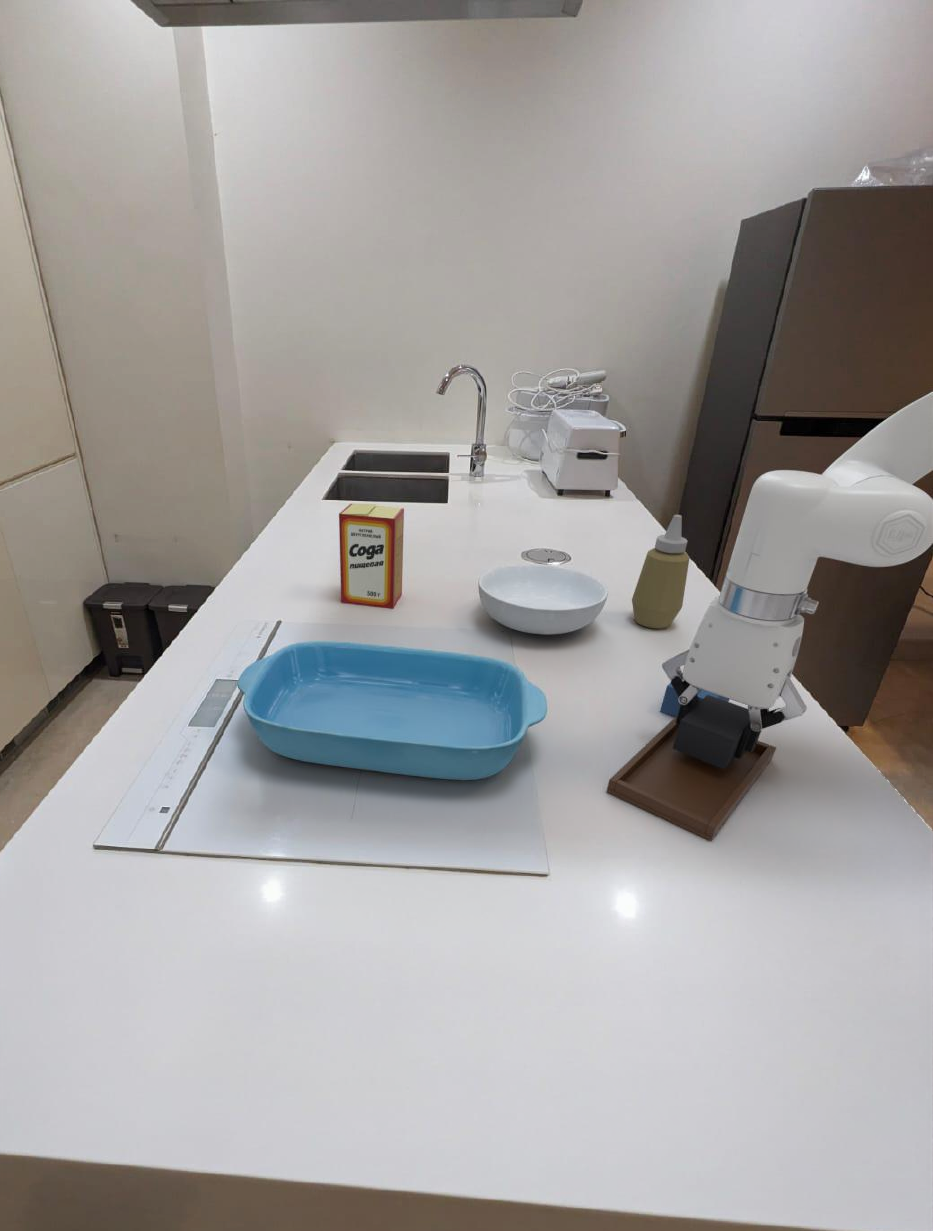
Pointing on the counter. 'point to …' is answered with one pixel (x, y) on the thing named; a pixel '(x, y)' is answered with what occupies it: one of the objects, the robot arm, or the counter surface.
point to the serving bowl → (541, 597)
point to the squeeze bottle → (662, 579)
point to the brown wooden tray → (687, 783)
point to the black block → (712, 731)
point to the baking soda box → (371, 554)
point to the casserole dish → (391, 708)
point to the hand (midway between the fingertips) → (712, 740)
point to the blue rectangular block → (672, 703)
